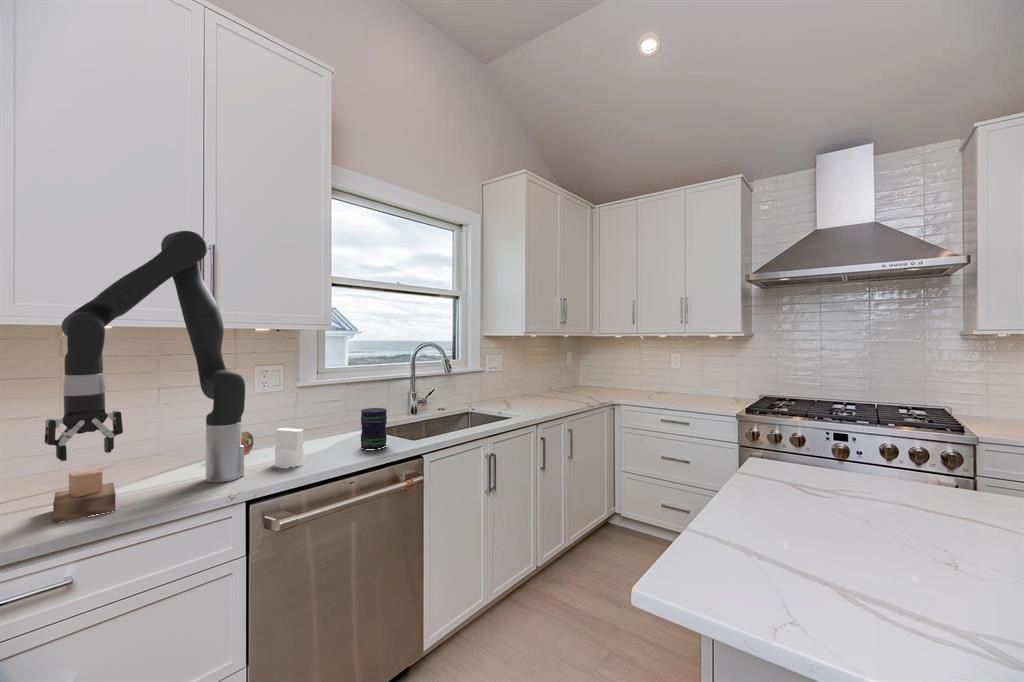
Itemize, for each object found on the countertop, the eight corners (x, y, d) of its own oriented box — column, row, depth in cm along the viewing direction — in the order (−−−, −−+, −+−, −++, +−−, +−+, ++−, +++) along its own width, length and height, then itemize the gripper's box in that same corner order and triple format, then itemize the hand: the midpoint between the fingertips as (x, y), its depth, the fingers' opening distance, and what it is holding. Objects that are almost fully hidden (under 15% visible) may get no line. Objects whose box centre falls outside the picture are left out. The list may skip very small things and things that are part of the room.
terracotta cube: (94, 487, 118) (94, 468, 118) (102, 491, 116) (102, 471, 116) (68, 493, 114) (68, 473, 114) (75, 497, 111) (75, 476, 111)
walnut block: (113, 501, 123) (113, 482, 122) (115, 513, 115) (115, 493, 114) (55, 511, 115) (55, 491, 115) (53, 525, 107) (53, 504, 107)
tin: (221, 462, 158) (221, 438, 158) (213, 462, 158) (213, 438, 158) (254, 451, 172) (254, 429, 172) (246, 451, 173) (247, 429, 173)
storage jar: (379, 443, 188) (379, 407, 188) (391, 447, 181) (391, 410, 181) (356, 447, 182) (356, 409, 181) (367, 452, 174) (367, 413, 174)
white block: (268, 467, 154) (268, 431, 153) (287, 459, 162) (288, 426, 162) (291, 469, 152) (291, 433, 151) (309, 461, 160) (309, 427, 160)
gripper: (114, 387, 122) (115, 447, 123) (39, 394, 110) (41, 461, 111) (126, 390, 118) (127, 452, 119) (50, 397, 106) (52, 466, 107)
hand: (86, 456), depth 115 cm, fingers open, 8 cm apart
